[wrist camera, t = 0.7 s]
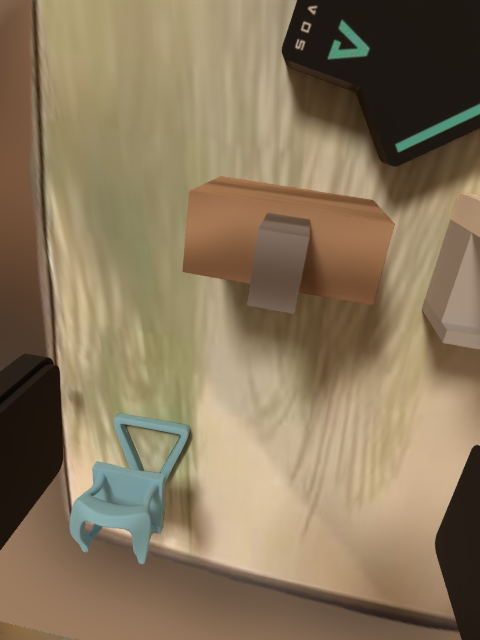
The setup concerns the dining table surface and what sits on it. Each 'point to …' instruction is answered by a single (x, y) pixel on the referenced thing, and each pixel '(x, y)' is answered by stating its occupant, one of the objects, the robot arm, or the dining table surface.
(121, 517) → the chair
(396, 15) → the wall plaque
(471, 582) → the robot arm
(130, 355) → the dining table surface
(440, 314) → the wall board
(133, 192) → the dining table surface
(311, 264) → the walnut cabinet
